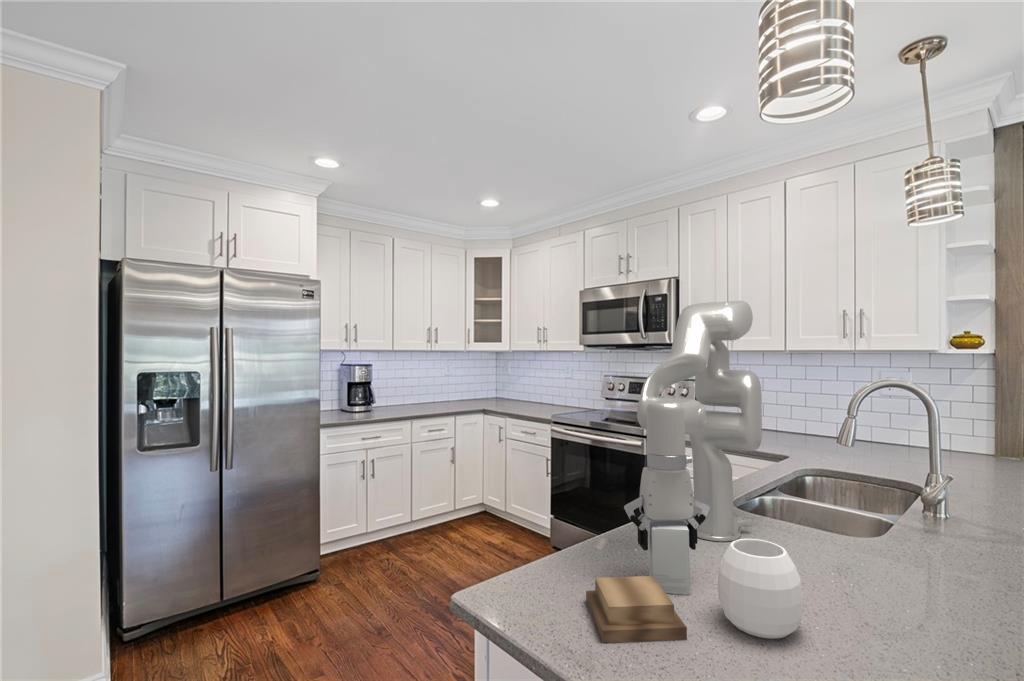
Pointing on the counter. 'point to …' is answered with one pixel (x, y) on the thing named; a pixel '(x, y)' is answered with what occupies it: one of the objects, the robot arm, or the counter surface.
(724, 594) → the white vase
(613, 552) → the counter surface
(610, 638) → the plinth
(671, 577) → the supplement box
